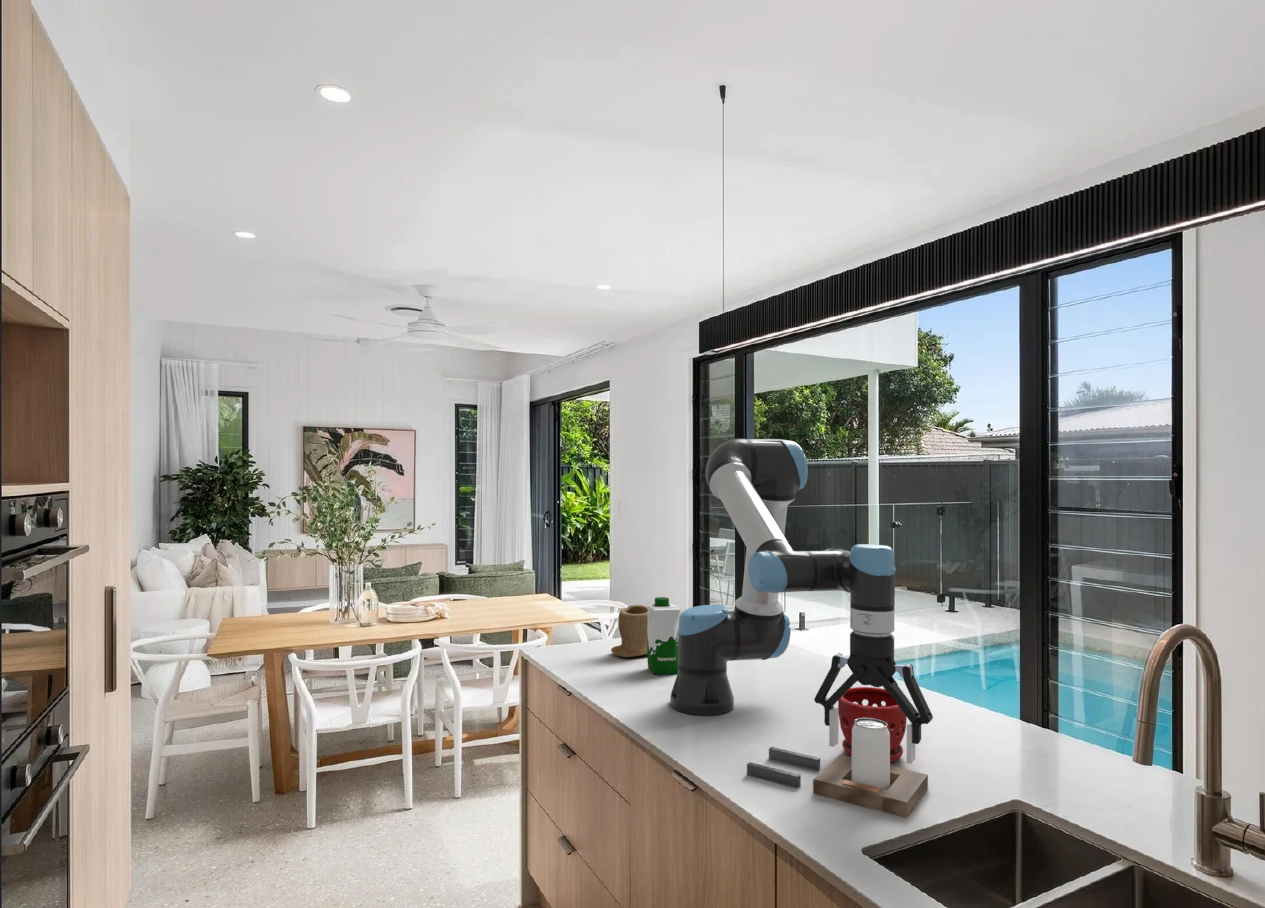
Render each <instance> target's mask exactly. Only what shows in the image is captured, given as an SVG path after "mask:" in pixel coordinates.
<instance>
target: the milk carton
mask: <svg viewBox="0 0 1265 908" xmlns="http://www.w3.org/2000/svg"><path fill="white" fill-rule="evenodd" d="M647 607H648V624H647V654H646V657H647V669H648V670H649V671H650V672H651V673H652V674H653V675H654V676H660V675H664V676H665V675H677V674H678V627H679V617H680V615H681V613H682V612H681V611H682V610H681V608H679V606H678V605H675V604H672V603H671V604H670V598H669V597H665V596H664V597H663V596H662V597H661V596H659V597H658V596H656V597H655V598H654V604H648V605H647Z"/></svg>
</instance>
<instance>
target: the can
mask: <svg viewBox="0 0 1265 908" xmlns="http://www.w3.org/2000/svg"><path fill="white" fill-rule="evenodd" d="M854 723H855V724H854V726H853V728H852V756H851V757H852V781H853V782H857V783H861V784H865V785H869V786H873V787H877V788H881V789H885V790H888V789H889V788H890V766H891V762H890V733H889V731H888V728H887V723H886V722H884V721H882V720H879V719H874V718H859V719H856V720H855V721H854Z"/></svg>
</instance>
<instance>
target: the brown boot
mask: <svg viewBox="0 0 1265 908" xmlns="http://www.w3.org/2000/svg"><path fill="white" fill-rule="evenodd" d="M617 619H618V623H617V624H618V626H617V627H618V631H619V635H620V638H621V644H620V645H616V646H615V645H614V646H613V647H611V650H610V652H611V653H612V654H614V655H615V656H619V657H622V658H631V657H633V658H634V657H639V656H644V655H645V656H647V624H648V606H646V605H644V604H643V605H642V604H631V605H629V606H627V607H623V608H621V609H620V611H619V613H618V618H617Z"/></svg>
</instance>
